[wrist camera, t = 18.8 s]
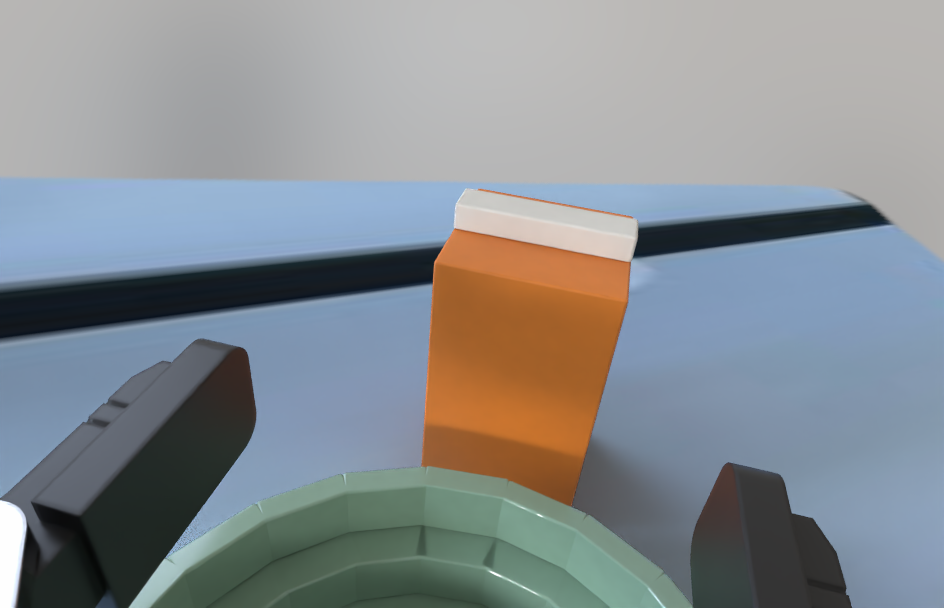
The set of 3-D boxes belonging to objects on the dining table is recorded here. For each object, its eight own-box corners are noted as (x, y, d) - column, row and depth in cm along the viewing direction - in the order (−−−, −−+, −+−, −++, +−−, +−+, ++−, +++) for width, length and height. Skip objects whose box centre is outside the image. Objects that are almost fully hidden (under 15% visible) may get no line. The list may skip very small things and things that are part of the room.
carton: (419, 493, 21) (435, 234, 16) (456, 397, 25) (480, 163, 20) (564, 532, 21) (636, 273, 15) (579, 426, 25) (640, 192, 19)
